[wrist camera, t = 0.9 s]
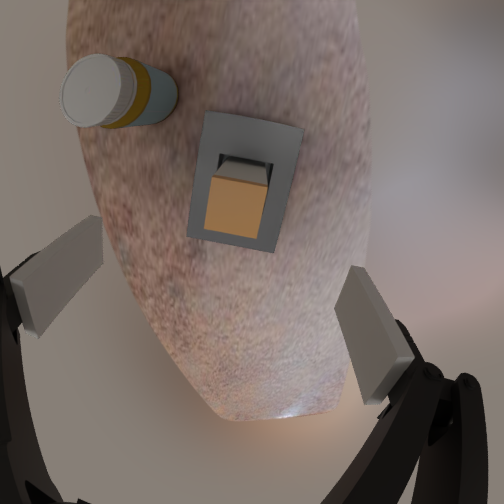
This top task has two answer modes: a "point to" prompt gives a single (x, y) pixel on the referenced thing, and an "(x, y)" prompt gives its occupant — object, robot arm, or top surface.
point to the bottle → (116, 93)
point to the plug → (237, 197)
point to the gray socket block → (254, 148)
